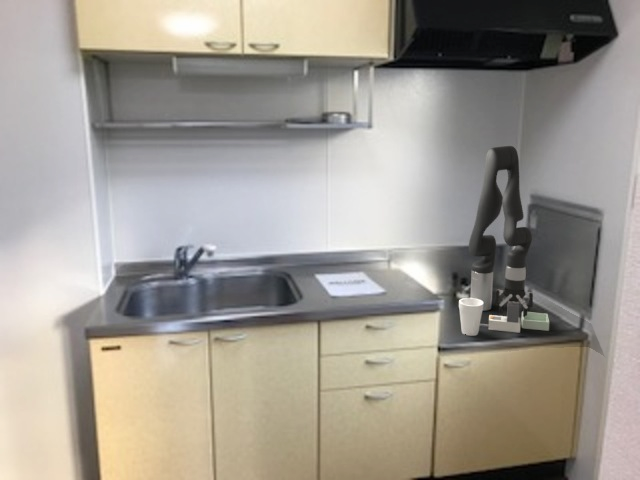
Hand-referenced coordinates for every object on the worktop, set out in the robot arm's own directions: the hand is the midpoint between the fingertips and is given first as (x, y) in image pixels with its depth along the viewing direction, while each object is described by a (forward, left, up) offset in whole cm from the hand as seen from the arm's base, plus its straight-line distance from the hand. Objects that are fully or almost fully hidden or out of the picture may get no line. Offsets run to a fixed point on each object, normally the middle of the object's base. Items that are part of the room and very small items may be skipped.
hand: (512, 315), depth 215 cm
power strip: (0, -6, -6) cm, 8 cm away
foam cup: (+8, -16, -6) cm, 19 cm away
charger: (0, 0, -4) cm, 4 cm away
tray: (-7, +9, -6) cm, 13 cm away
